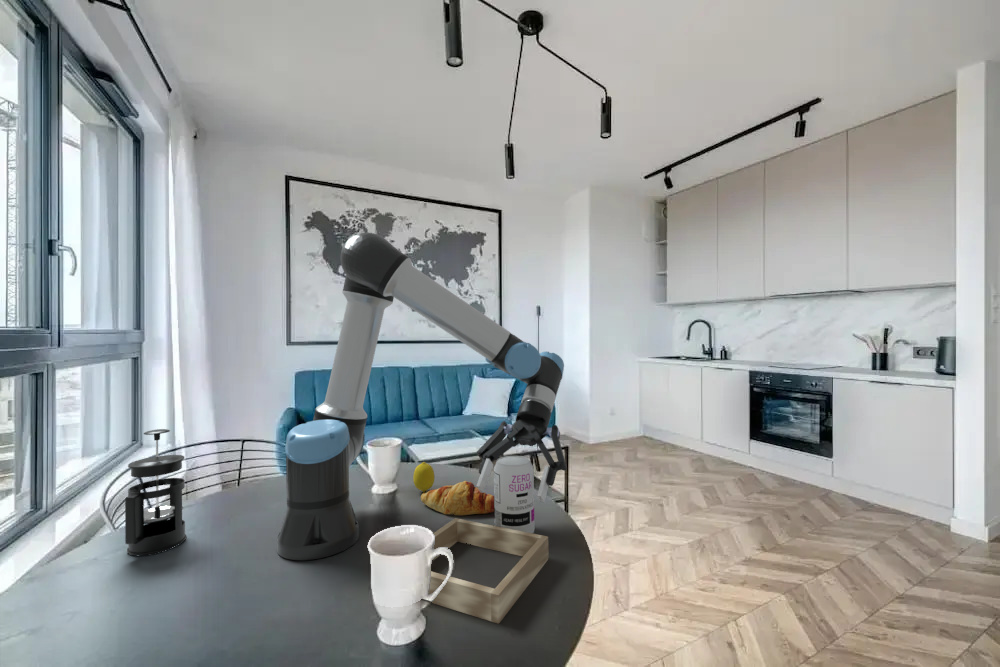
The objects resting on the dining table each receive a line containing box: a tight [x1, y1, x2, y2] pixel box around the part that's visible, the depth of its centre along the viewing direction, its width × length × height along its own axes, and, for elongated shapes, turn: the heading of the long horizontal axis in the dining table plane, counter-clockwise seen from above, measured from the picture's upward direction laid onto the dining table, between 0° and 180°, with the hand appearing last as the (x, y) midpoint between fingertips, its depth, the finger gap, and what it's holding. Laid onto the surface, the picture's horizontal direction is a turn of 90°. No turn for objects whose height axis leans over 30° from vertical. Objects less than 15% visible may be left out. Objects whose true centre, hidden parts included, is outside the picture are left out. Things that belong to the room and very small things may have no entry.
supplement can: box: [493, 455, 536, 534], centre depth 90 cm, size 8×8×15 cm
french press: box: [124, 428, 187, 556], centre depth 87 cm, size 12×9×23 cm
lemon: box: [412, 461, 435, 493], centre depth 115 cm, size 6×6×8 cm
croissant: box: [420, 480, 494, 516], centre depth 103 cm, size 21×10×8 cm, turn 72°
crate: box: [429, 517, 550, 625], centre depth 75 cm, size 20×20×4 cm
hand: (509, 494), depth 88 cm, fingers open, 13 cm apart
